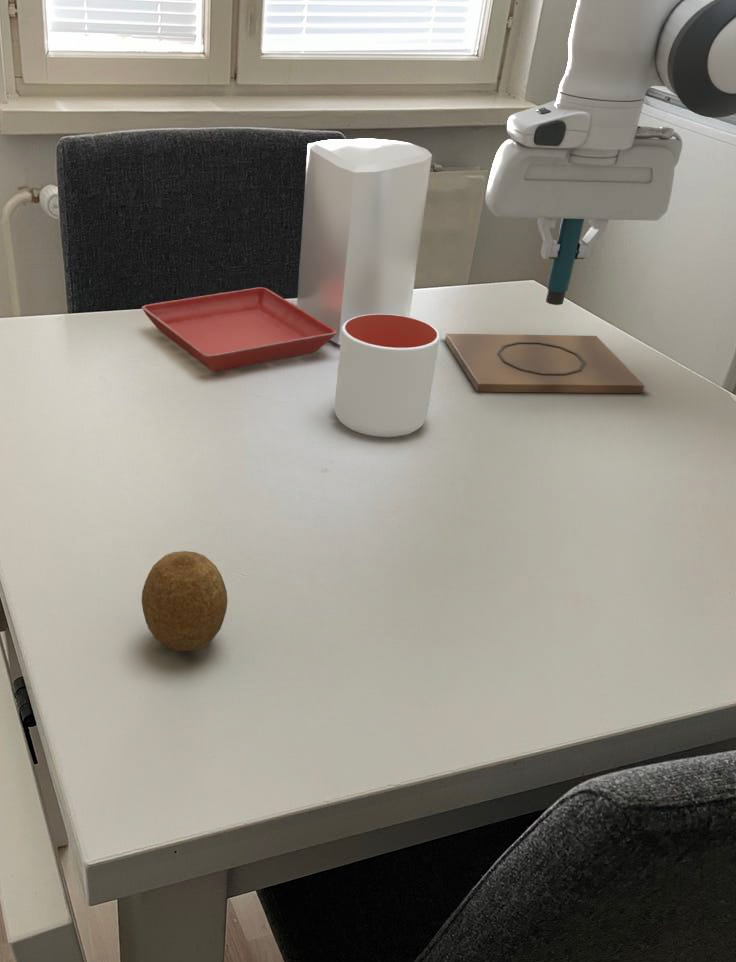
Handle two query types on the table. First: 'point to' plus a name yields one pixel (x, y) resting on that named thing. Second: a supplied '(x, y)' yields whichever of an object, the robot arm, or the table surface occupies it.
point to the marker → (564, 260)
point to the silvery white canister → (361, 228)
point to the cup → (385, 374)
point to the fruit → (184, 601)
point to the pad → (541, 364)
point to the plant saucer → (239, 328)
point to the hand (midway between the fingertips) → (563, 258)
